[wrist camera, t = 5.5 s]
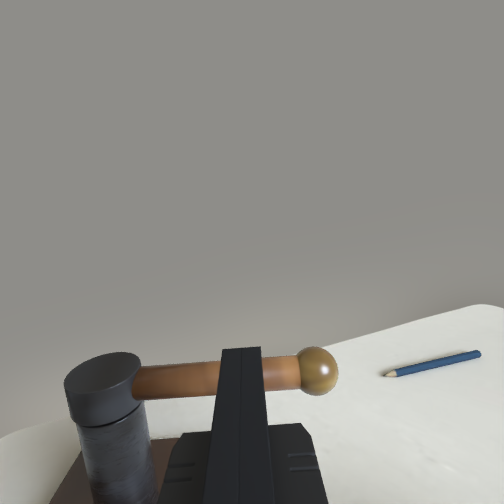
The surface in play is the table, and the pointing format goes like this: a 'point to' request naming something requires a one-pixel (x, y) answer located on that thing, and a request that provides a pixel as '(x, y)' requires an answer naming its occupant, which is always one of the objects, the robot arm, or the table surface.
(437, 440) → the table surface
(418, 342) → the table surface
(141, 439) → the valve stand
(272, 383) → the handle
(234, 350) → the robot arm
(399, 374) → the pencil
